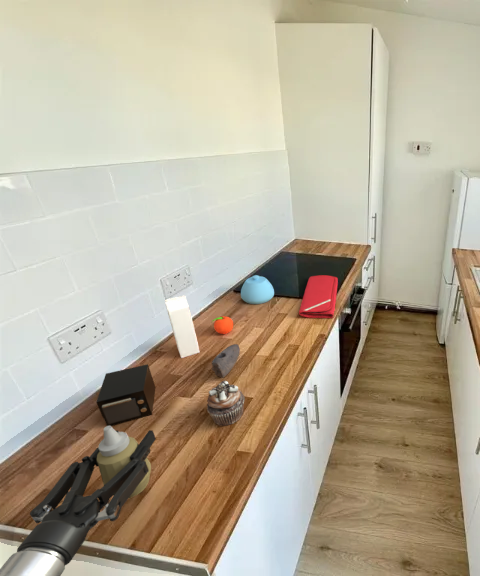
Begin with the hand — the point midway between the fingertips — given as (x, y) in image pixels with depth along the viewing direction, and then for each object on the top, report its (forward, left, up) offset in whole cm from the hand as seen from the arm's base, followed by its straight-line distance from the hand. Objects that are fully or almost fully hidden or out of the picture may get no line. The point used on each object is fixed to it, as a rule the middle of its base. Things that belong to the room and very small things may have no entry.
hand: (135, 434), depth 71 cm
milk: (+8, +47, -13) cm, 50 cm away
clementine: (+20, +55, -13) cm, 60 cm away
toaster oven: (-6, +25, -12) cm, 29 cm away
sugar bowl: (+37, +80, -13) cm, 89 cm away
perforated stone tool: (+20, +32, -13) cm, 40 cm away
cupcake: (+18, +10, -13) cm, 24 cm away
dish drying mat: (+64, +70, -12) cm, 96 cm away
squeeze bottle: (-2, -5, -10) cm, 11 cm away
